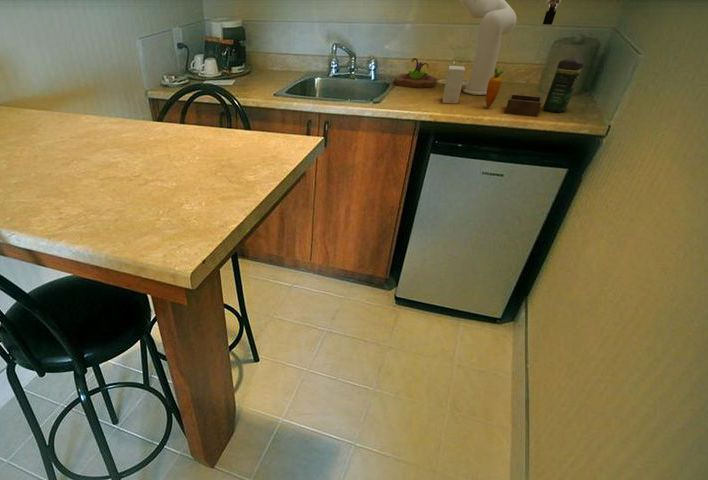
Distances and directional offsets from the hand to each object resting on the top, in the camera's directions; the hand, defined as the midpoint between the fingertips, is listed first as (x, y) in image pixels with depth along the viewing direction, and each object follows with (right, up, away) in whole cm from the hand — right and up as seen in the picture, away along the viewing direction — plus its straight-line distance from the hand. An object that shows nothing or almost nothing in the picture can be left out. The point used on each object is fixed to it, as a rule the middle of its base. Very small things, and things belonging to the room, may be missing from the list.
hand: (547, 23), depth 157 cm
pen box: (-8, -33, +4) cm, 34 cm away
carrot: (-19, -29, +9) cm, 36 cm away
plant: (-38, -1, +46) cm, 60 cm away
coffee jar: (+6, -31, +6) cm, 32 cm away
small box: (-31, -22, +18) cm, 42 cm away
